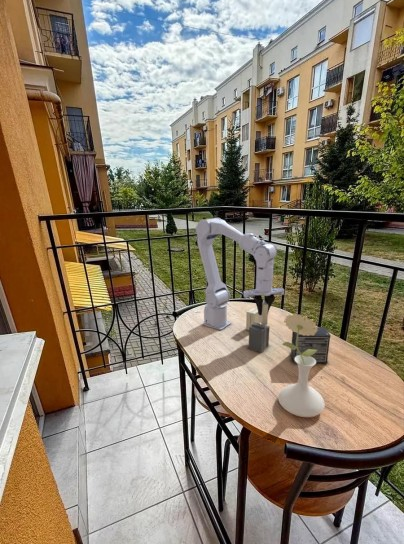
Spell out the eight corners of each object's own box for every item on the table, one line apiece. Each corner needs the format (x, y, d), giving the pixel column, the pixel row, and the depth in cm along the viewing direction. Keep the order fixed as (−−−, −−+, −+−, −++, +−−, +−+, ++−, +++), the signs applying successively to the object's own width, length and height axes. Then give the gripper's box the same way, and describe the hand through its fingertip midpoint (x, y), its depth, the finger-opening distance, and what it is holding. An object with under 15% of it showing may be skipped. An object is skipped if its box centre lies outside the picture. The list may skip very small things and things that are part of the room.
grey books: (248, 348, 101) (249, 326, 98) (256, 342, 105) (257, 320, 102) (261, 352, 98) (262, 329, 95) (268, 345, 102) (269, 323, 99)
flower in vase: (333, 409, 71) (347, 320, 62) (303, 429, 66) (314, 334, 57) (293, 383, 82) (300, 303, 73) (264, 398, 76) (268, 314, 67)
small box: (321, 353, 96) (325, 326, 92) (327, 364, 90) (331, 335, 86) (290, 353, 97) (292, 325, 93) (293, 363, 91) (296, 335, 87)
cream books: (246, 329, 115) (246, 311, 112) (251, 325, 119) (252, 307, 116) (254, 331, 113) (254, 313, 110) (260, 327, 117) (260, 309, 114)
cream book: (258, 319, 107) (259, 300, 104) (262, 319, 107) (263, 299, 105) (262, 325, 103) (263, 305, 100) (267, 324, 103) (268, 304, 100)
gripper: (247, 283, 94) (246, 320, 99) (288, 280, 96) (286, 316, 101) (242, 277, 101) (241, 312, 106) (280, 274, 103) (278, 309, 107)
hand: (262, 313), depth 104 cm, fingers closed on cream book, 2 cm apart
